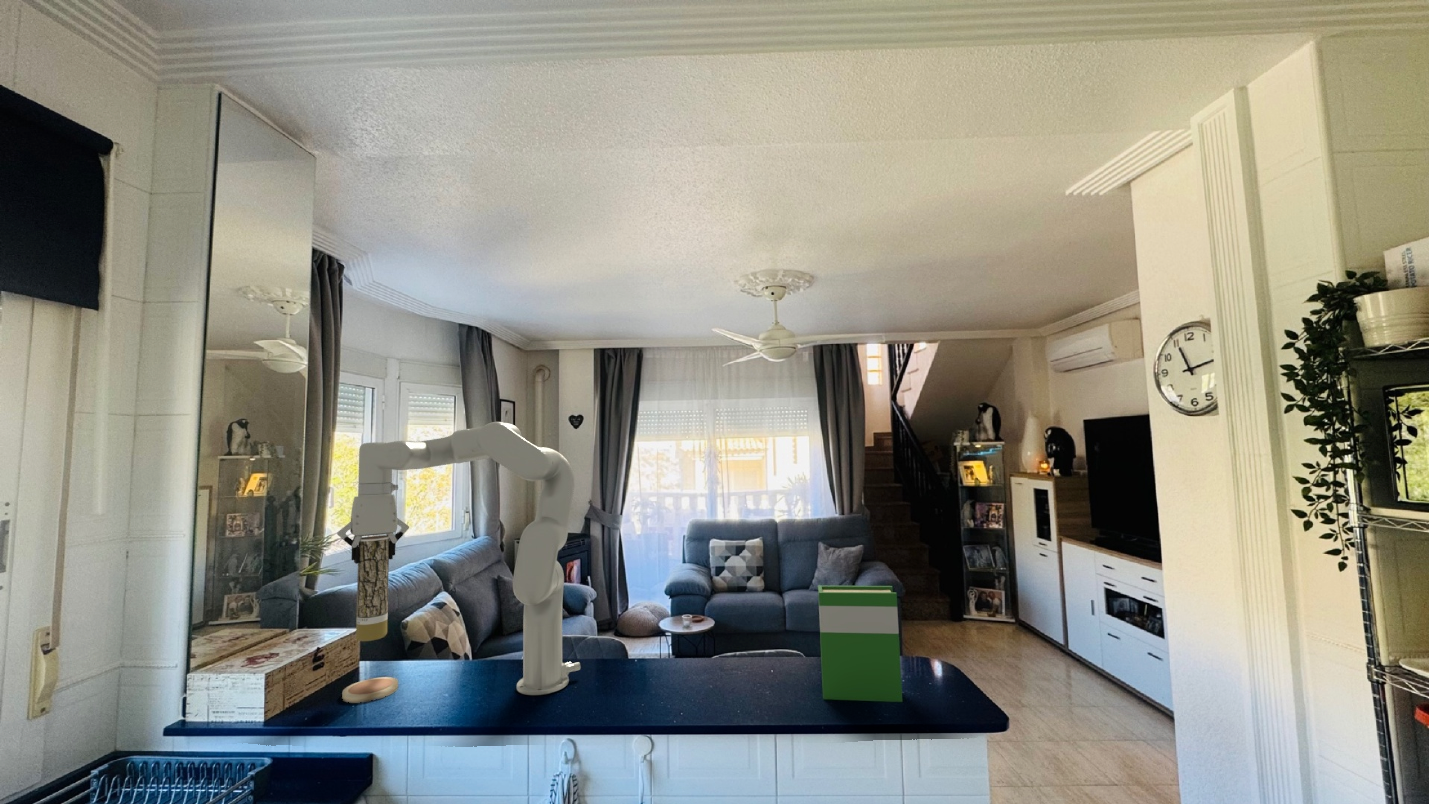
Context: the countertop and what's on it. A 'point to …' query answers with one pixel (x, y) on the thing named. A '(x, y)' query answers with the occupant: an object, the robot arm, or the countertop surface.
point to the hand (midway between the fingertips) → (373, 560)
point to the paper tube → (372, 588)
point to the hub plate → (370, 689)
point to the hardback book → (860, 643)
